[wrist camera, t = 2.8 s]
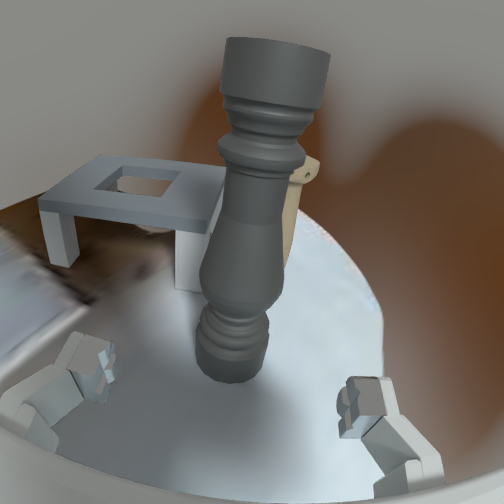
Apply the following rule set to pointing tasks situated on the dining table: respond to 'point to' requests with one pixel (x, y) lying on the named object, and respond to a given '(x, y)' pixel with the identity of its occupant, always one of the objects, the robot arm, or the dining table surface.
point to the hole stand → (137, 207)
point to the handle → (295, 201)
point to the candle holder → (254, 197)
